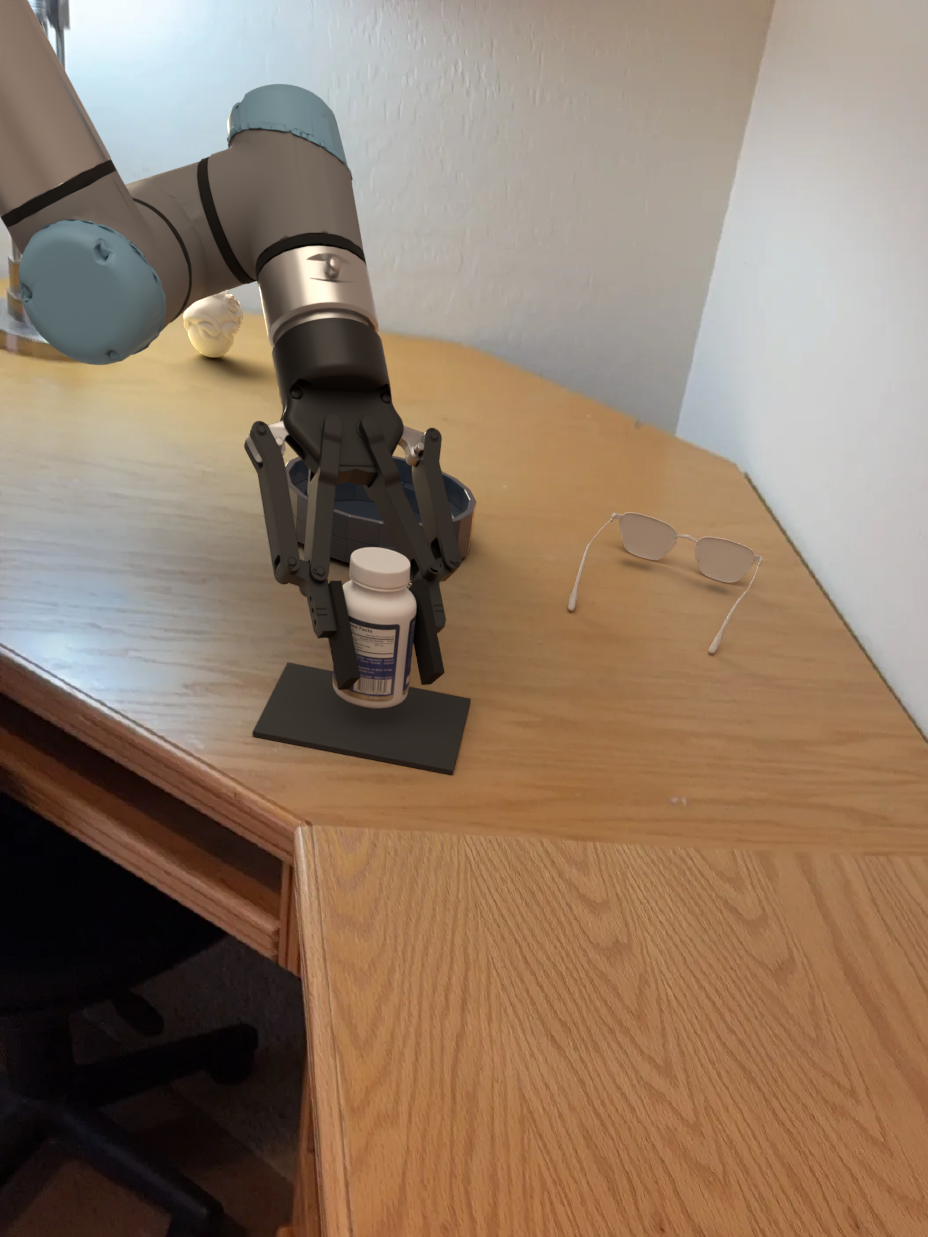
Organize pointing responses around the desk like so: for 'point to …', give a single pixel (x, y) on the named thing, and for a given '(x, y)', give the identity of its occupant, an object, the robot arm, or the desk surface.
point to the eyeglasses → (660, 537)
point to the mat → (364, 722)
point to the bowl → (374, 511)
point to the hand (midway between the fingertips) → (391, 680)
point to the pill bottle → (380, 627)
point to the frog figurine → (213, 323)
